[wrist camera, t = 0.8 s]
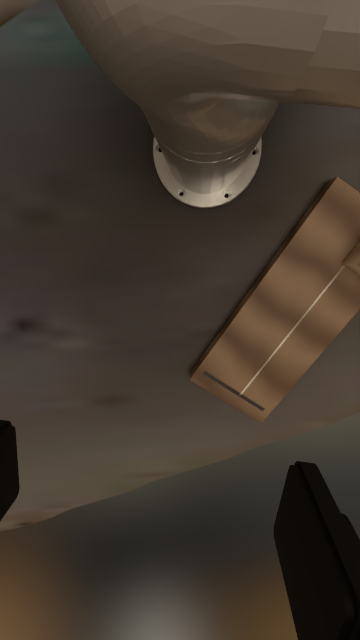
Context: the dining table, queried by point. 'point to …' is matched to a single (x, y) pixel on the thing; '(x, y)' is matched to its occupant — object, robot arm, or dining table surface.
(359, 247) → the tan cardboard box
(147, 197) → the dining table surface
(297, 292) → the walnut board
